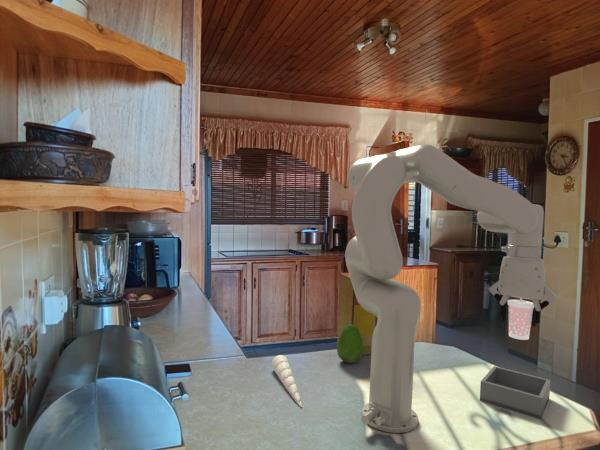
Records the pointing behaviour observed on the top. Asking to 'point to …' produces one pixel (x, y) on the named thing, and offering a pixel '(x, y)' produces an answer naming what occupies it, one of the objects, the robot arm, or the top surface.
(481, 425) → the top surface
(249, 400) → the top surface
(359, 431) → the top surface
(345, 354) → the avocado
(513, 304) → the beverage cup
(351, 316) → the food packaging
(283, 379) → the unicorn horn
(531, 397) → the bin
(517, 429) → the top surface
